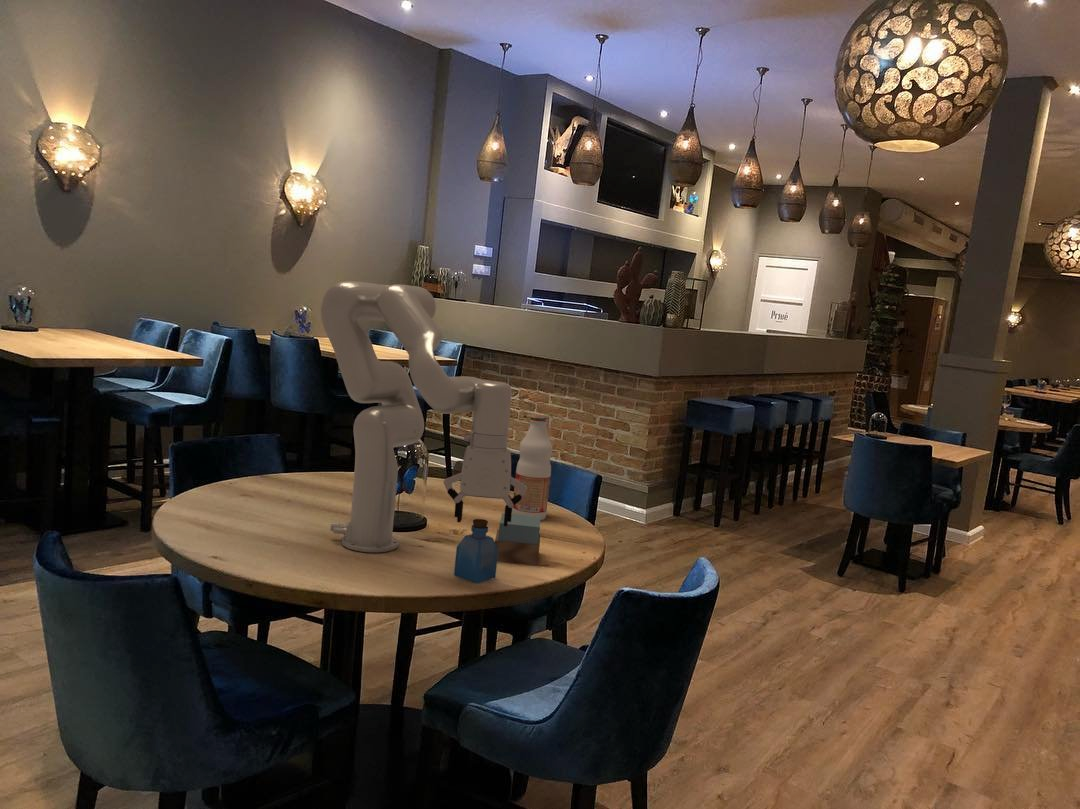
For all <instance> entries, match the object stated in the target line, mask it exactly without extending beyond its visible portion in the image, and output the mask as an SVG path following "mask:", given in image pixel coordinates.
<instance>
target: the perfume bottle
mask: <svg viewBox="0 0 1080 809" xmlns="http://www.w3.org/2000/svg"><path fill="white" fill-rule="evenodd" d="M472 523H473V524H472V525H471V529H470V530H471V533H470V534H467V535H465V536H464V537H463V538H462V539H461V541H460V542H459V543H458V544H457V546H456V549H455V550H456V551H455V559H454V570H453V576H454V575H455V576H454V577H457V576H458V577H457V578H459V577H460V578H459V579H462V578H463V580H465V579H466V580H465V581H468V582H470V581H471V582H470V583H474V584H476V585H477V584H481V583H483V582H487V581H489V579H490V580H492V578H493V579H495V578H497V577H496V576H497V566H498V562H497V559H498V547H497V545H496V544H495V539H494V538H493V537H492V536H489V535H487V533H488V531H489V526H488V523H489V521H488V520H486V519H484V518H483V519H482V518H474V519H473V520H472ZM486 580H487V581H486Z"/></svg>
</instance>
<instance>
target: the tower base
mask: <svg viewBox="0 0 1080 809" xmlns="http://www.w3.org/2000/svg"><path fill="white" fill-rule="evenodd" d="M498 535H499V528H497V530H496V534H495V539H494V542H495V544H496V545H497V547H498V559H497V563H498V562H499V563H508V564H517V565H525V566H535V567H537V566H538V563H539V554H540V544H541V542H540V541H541V533H540V532H539V540H538V545H536V544H526V543H517V542H508V541H499V540H498Z"/></svg>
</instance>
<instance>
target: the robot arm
mask: <svg viewBox="0 0 1080 809" xmlns="http://www.w3.org/2000/svg"><path fill="white" fill-rule="evenodd" d="M436 308H437V306H436V301H435V298H434V296H433V295H432V293H431V292H430V291H429V290H427V288H424V287H422V286H417V285H416V286H415V285H408V284H398V283H396V284H381V283H373V282H372V283H371V282H365V281H364V282H363V281H357V280H356V281H354V280H353V281H352V280H344V281H339V282H336V283H334V284H332V285H331V286H329V288H328V289H327V290H326V292H325V293H324V296H323V297H322V302H321V306H320V317H321V318H320V319H321V322H322V326H323V328H324V332H325V334H326V336H327V338H328V339H329V340H328V341H330V345H331V347H332V349H333V352H334V355H335V358H336V362H337V364H338V367H339V371H340V374H341V377H342V380H343V382H344V386H345V388H346V391H347V394H348V396H349V397H350V399H351V400H353V401H354V402H356V403H359V404H374V403H378V404H379V403H381V405H376V406H371V407H368V408H365V409H363V410H362V411H360V413H358V414H357V416H356V417H355V419H354V422H353V427H352V428H353V438H354V439H353V440H354V452H355V454H354V457H355V458H354V472H353V476H354V477H353V486H352V497H351V498H352V499H351V511H350V521H349V522H345V523H340V522H334V521H333V522H331V524H330V532H331V531H332V532H333V534H340V535H343V537H341V545H342V546H344V548H347V549H349V550H351V551H355V552H362V553H387V552H391V551H394V550H396V549H397V548H398V547H399V539H397V538H396V537H394V536H393V530H394V520H395V519H394V518H395V508H396V496H397V489H398V488H397V487H398V475H399V474H398V473H399V466H398V460H397V457H396V454H395V450H394V448H400V447H405V446H410V445H411V446H412V445H413V444H415V443H417V442H418V441H419V440H420V439H421V438H422V437H423V433H424V430H425V420H424V416H423V412H422V409H421V407H420V404H419V401H418V397H417V395H416V392H415V388H416V390H417V392H419V394H420V395H421V397H422V398H423V399H424V401H425V402H426V403H427V405H428V406H430V407H431V408H432V409H433V410H434V411H435V412H436V413H437V412H438V413H440V414H444V415H447V414H448V415H449V414H458V413H459V414H461V413H463V414H464V413H472V424H471V432H470V433H464V434H463V435H464V436H463V441H467V442H469V443H470V444H469V445H467V446H466V449H465V452H464V455H463V460H462V467H461V468H462V469H461V472H459V473H456V474H454V475H452V476H450V477H447V478H445V479H444V480H443V484H444V486H445V490H446V491H447V494H448V495H449V497H451V498H452V500H453V502H454V503H455V504H454V516H453V517H454V518H457V519H456V523H461V522H462V520H463V513H464V512H463V511H464V510H463V509H464V501H463V499H464V498H465V497H466V496H467V497H471V498H472V497H473V498H475V497H476V498H484V499H485V498H487V499H497V500H501V499H502V500H503V502H504V503H505V504H506V505H505V507H504V514H505V515H504V526H505V527H507V524H508V522H511V516H512V507H513V506H514V505H515V504H517V503H518V502H519V501H520V500H521V499H522V497H523V496H524V494H525V493H526V491H527V486H526V485H524V484H522V483H521V482H519V481H518V480H516V479H515V478H514V477H512V455H511V449H509V448H508V442H509V441H508V440H509V438H508V437H509V428H510V427H509V426H510V417H511V405H512V394H513V393H512V387H511V385H510V384H508V383H507V382H503V381H494V380H493V381H491V380H484V379H482V378H478V377H476V376H448V374H447V373H446V372H445V371H444V369H443V368H442V366H441V365H440V364H439V362H438V360H437V359H436V356H435V353H434V351H435V350H436V349H438V347H439V346H440V345H441V342H442V341H443V332H442V330H441V329H440V328H439V326H438V325H437V324H436V323H435V321H434V320H433V318H434V316H435V314H436V311H437V310H436ZM358 320H359V321H373V322H374V321H375V322H385V323H386V325H387V326H388V327H389V329H390V331H391V332H392V333H393V334H394V336H395V337H396V339H397V340H398V341H399V343H400V344H401V346H402V347H403V349H404V350H405V352H406V353H407V354H408V368H409V369H408V370H409V374H410V375H409V374H408V372H407V371H406V369H405V368H404V367H403V365H401V364H399V363H398V362H395V361H390V360H380V359H379V358H378V357H377V355H376V352H375V350H374V347H373V346H374V345H373V343H372V340H371V339H370V336H369V335H368V334H367V332H366V331H365V329H363V327H361V325H360V324H359V322H358ZM413 385H414V387H415V388H414V387H413ZM458 481H460V485H459V486H460V487H459V490H460V491H459V492H457V491H456V490H455V488H454V487H453V484H454V483H456V482H457V483H458ZM511 485H512V486H513V487H514V488H515V487H516V488H518V489H519V492H518V494H517V495H515V496H514V495H513V497H512V496H511V495H510V491H511Z"/></svg>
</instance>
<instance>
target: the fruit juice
mask: <svg viewBox="0 0 1080 809" xmlns="http://www.w3.org/2000/svg"><path fill="white" fill-rule="evenodd" d="M529 420H530V425H529V427H528V430H527V432H526V435H524V437H523V438H522V440H521V441H520V443H519V446H518V447H519V450H518V451H519V460H518V461H517V465H516V470H515V478H514V479H516V480H518V481H519V482H521V483H522V484H524V485H526V486H527V491H526V493H525V494H524V496H523V497H522V499H521V500H520V501H519V502H518V503H517V504H515V505H514V506H513V507H512V514H513V515H523V516H532V517H540V522H541V521H544V520H545V519H546V517H547V511H548V509H547V508H548V501H549V492H550V484H551V475H552V465H551V457H552V454H553V450H554V449H553V448H554V446H553V444H552V442H551V440H550V437H549V432H548V427H547V426H548V425H547V424H548V422H549V417H548V416H547V415H541V414H531V415H530V417H529ZM518 492H519V489H518V488H516V487H514V490H513V497H514V496H515V495H517V494H518Z"/></svg>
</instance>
